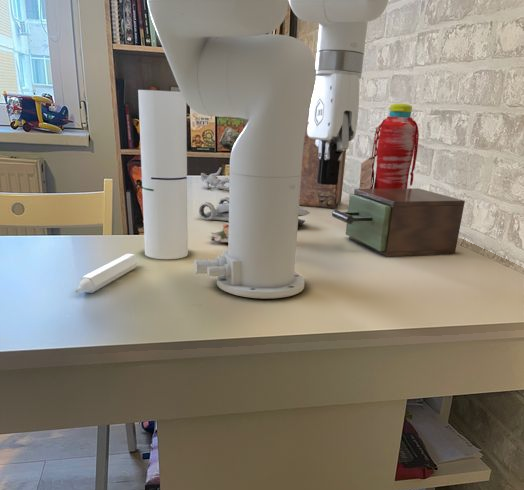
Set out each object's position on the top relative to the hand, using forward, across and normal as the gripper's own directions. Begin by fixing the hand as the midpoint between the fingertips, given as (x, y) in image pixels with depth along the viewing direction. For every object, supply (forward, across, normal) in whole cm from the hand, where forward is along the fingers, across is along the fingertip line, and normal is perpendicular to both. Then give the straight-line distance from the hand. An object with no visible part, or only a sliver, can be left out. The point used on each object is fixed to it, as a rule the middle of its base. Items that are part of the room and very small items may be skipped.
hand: (327, 183), depth 97 cm
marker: (+13, +12, -39) cm, 43 cm away
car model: (+11, -26, -4) cm, 29 cm away
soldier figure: (+10, -74, 0) cm, 75 cm away
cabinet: (+11, -1, +17) cm, 21 cm away
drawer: (+10, -1, +13) cm, 17 cm away
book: (+10, -50, +14) cm, 53 cm away
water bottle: (+11, -18, +22) cm, 31 cm away
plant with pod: (+12, -9, -13) cm, 20 cm away
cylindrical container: (+12, -2, -28) cm, 30 cm away
